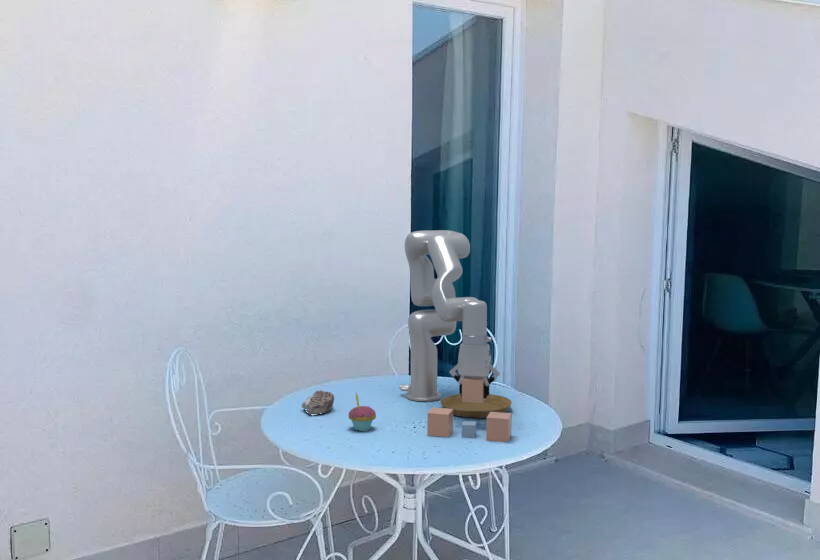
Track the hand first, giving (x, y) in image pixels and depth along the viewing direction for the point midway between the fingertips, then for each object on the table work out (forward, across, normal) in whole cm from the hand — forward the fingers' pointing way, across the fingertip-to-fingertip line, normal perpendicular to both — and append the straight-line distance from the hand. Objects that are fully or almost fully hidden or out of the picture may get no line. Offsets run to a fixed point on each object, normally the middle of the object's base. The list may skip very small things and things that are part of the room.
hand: (474, 396), depth 247 cm
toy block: (+1, 0, 0) cm, 1 cm away
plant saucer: (+10, +3, -20) cm, 22 cm away
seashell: (+10, +54, -5) cm, 55 cm away
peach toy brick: (+10, +9, +9) cm, 16 cm away
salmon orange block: (+10, -9, +9) cm, 16 cm away
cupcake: (+10, +33, +11) cm, 36 cm away
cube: (+10, 0, +9) cm, 14 cm away
